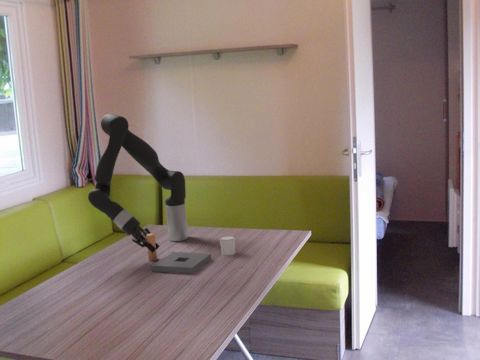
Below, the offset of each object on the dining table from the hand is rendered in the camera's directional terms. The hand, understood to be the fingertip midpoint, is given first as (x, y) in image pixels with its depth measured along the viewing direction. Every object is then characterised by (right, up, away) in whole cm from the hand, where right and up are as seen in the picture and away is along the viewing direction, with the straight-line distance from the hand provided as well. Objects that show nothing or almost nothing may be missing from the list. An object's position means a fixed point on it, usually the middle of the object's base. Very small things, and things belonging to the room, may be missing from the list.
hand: (156, 249), depth 241 cm
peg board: (+12, -5, -10) cm, 17 cm away
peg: (-2, -5, +1) cm, 5 cm away
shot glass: (+31, -2, +2) cm, 31 cm away
